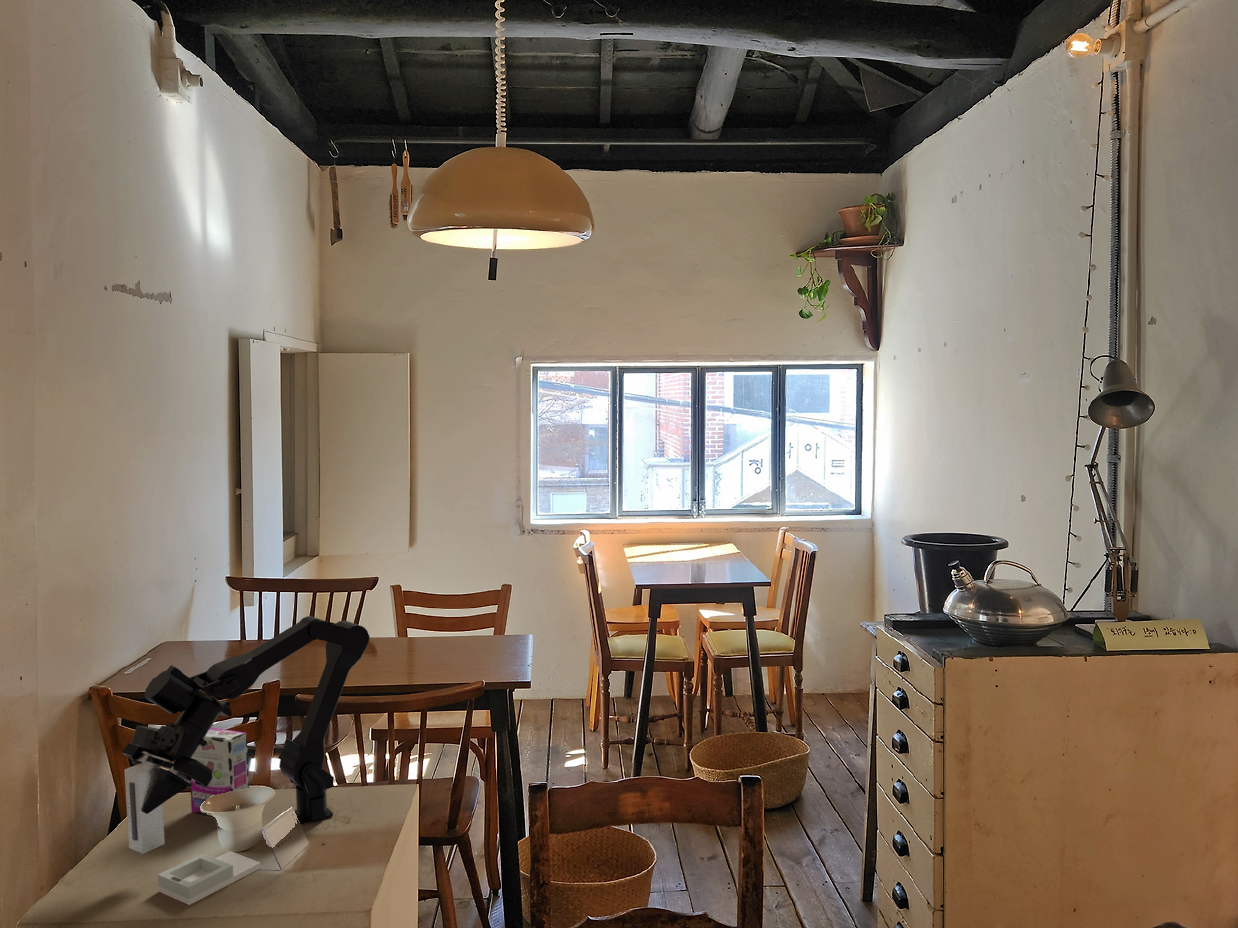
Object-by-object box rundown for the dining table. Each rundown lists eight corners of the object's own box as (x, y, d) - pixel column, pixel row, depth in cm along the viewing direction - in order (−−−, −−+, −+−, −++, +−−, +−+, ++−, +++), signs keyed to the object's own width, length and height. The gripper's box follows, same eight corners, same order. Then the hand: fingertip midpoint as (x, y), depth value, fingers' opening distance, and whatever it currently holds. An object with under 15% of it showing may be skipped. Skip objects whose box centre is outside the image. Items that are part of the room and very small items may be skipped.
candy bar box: (251, 811, 191) (248, 731, 189) (233, 821, 186) (229, 740, 185) (209, 802, 195) (205, 725, 194) (190, 812, 190) (186, 733, 189)
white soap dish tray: (230, 856, 172) (229, 839, 172) (260, 867, 168) (260, 851, 167) (158, 891, 160) (157, 873, 160) (189, 904, 156) (188, 886, 156)
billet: (150, 838, 167) (146, 761, 165) (164, 843, 165) (160, 765, 163) (128, 848, 163) (123, 769, 162) (141, 854, 161) (137, 774, 160)
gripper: (129, 697, 170) (71, 778, 162) (193, 714, 160) (135, 802, 152) (171, 725, 177) (118, 805, 169) (236, 744, 168) (182, 829, 159)
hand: (137, 809), depth 162 cm, fingers closed on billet, 4 cm apart
